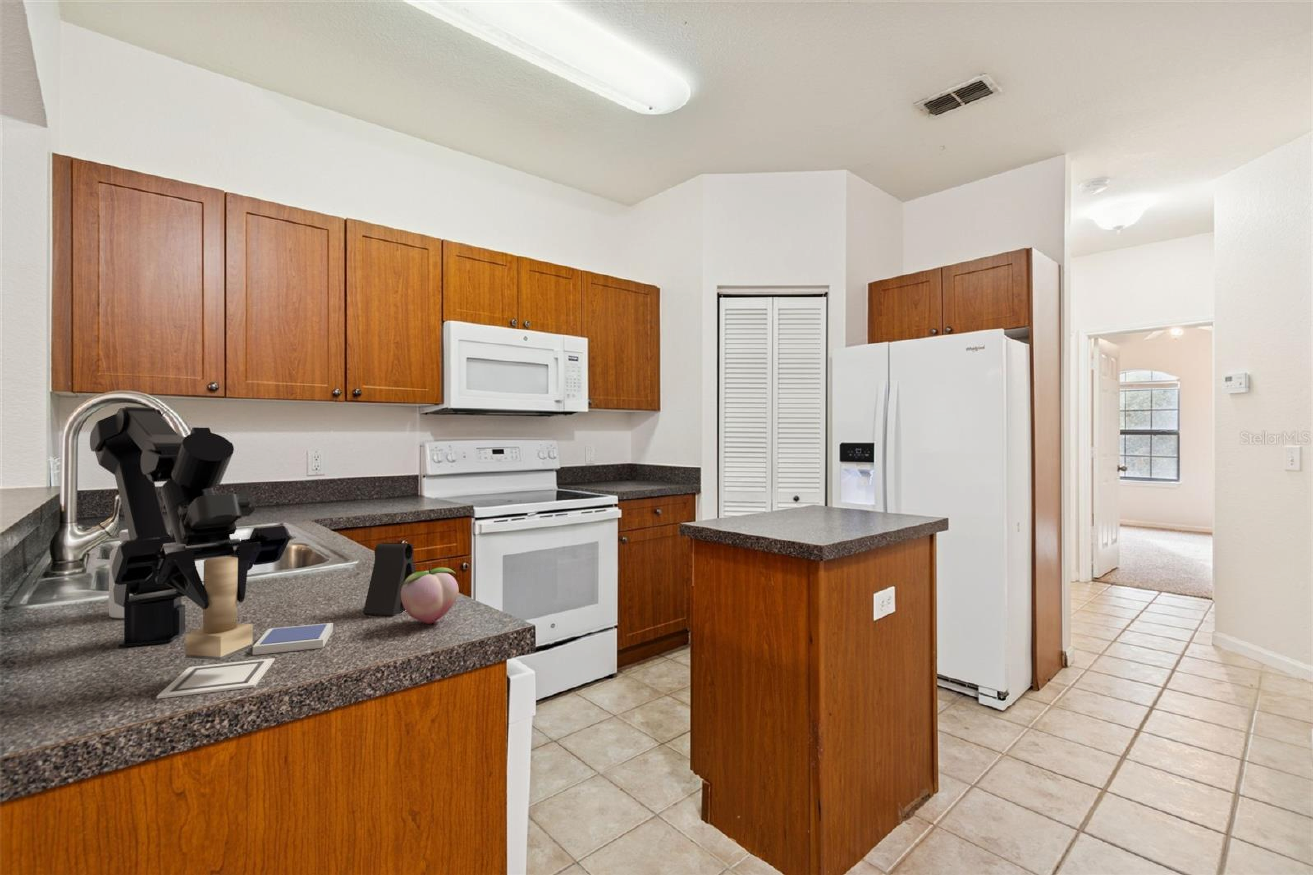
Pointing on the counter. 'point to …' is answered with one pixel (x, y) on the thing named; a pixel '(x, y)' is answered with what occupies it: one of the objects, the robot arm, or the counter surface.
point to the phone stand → (389, 578)
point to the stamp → (220, 615)
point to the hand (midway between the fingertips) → (224, 603)
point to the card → (217, 678)
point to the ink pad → (293, 638)
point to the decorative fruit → (429, 594)
